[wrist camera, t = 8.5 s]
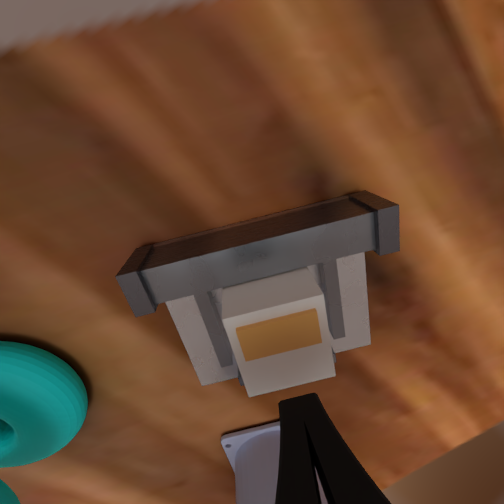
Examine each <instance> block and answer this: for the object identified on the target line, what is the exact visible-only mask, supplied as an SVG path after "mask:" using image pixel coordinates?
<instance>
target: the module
mask: <svg viewBox="0 0 504 504" xmlns="http://www.w3.org/2000/svg"><path fill="white" fill-rule="evenodd" d="M222 321H223V324H224V327H225V330H226V333H227V336H228V338H229V341H230V344H231V347H232V350H233V353H234V356H235V359H236V362H237V364H238V367H239V370H240V373H241V376H242V379H243V382H244V385H245V387H246V390H247V393H248V396H249V397H253V396H257V395H261V394H265V393H269V392H273V391H277V390H281V389H285V388H289V387H293V386H297V385H301V384H305V383H309V382H313V381H317V380H321V379H326V378H330V377H334V376H336V374H335V368H334V361H333V354H332V348H331V341H330V334H329V327H328V321H327V314H326V307H325V301H324V294H323V293H322V291H321V289H320V288H319V286H318V284H317V283H316V281H315V279H314V278H313V276H312V274H311V273H310V271H309V269H308V268H307V266H306V267H302V268H298V269H294V270H290V271H287V272H283V273H279V274H275V275H271V276H267V277H263V278H259V279H255V280H251V281H247V282H243V283H239V284H235V285H231V286H227V287H223V288H222Z"/></svg>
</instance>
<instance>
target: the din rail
mask: <svg viewBox="0 0 504 504" xmlns="http://www.w3.org/2000/svg"><path fill="white" fill-rule="evenodd" d="M370 250H374V251H375V252H376V253H377V254H378V255H380V256H381V255H385V254H389V253H393V252H397V251H400V245H399V205H398V204H396V203H394V202H391V201H389V200H387V199H384V198H382V197H380V196H377V195H375V194H373V193H370V192H368V191H366V190H364V191H360V192H356V193H353V194H349V195H345V196H341V197H337V198H333V199H330V200H326V201H322V202H318V203H314V204H310V205H306V206H302V207H298V208H294V209H290V210H286V211H282V212H278V213H274V214H270V215H267V216H263V217H259V218H255V219H251V220H247V221H243V222H239V223H235V224H231V225H227V226H223V227H219V228H215V229H211V230H207V231H204V232H200V233H196V234H192V235H188V236H184V237H180V238H176V239H172V240H168V241H164V242H160V243H156V244H152V245H148V246H144V247H140V248H136V249H135V251H134V252H133V253H132V255H131V256H130V257H129V259H128V260H127V262H126V263H125V264H124V266H123V267H122V268H121V270H120V271H119V272H118V274H117V275H116V276H115V277H116V279H117V281H118V283H119V285H120V287H121V289H122V291H123V293H124V295H125V297H126V299H127V301H128V303H129V305H130V307H131V309H132V311H133V313H134V315H135V317H138V316H142V315H146V314H150V313H154V312H155V311H156V308H157V306H158V304H159V303H163V302H165V303H166V305H167V307H168V309H169V312H170V314H171V316H172V319H173V321H174V323H175V325H176V328H177V330H178V332H179V335H180V337H181V339H182V341H183V344H184V346H185V348H186V351H187V353H188V355H189V357H190V360H191V362H192V364H193V367H194V369H195V371H196V373H197V376H198V378H199V380H200V383H201V385H202V386H205V385H209V384H213V383H217V382H221V381H225V380H229V379H233V378H237V377H238V379H239V382H240V385H241V386H242V385H244V382H243V379H242V376H241V373H240V370H239V367H238V364H237V362H236V359H235V356H234V353H233V350H232V347H231V344H230V341H229V338H228V336H227V333H226V330H225V327H224V324H223V321H222V288H223V287H227V286H231V285H235V284H239V283H243V282H247V281H251V280H255V279H259V278H263V277H267V276H271V275H275V274H279V273H283V272H287V271H290V270H294V269H298V268H302V267H306V266H307V268H308V269H309V271H310V273H311V274H312V276H313V278H314V279H315V281H316V283H317V284H318V286H319V288H320V289H321V291H322V293H323V294H324V301H325V307H326V314H327V321H328V327H329V334H330V341H331V348H332V354H333V361H334V363H335V362H336V356H335V353H338V352H342V351H346V350H350V349H354V348H358V347H362V346H366V345H370V344H371V339H370V325H369V311H368V297H367V283H366V269H365V255H364V252H366V251H370Z"/></svg>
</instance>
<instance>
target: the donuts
mask: <svg viewBox="0 0 504 504" xmlns="http://www.w3.org/2000/svg"><path fill="white" fill-rule="evenodd" d="M87 408H88V398H87V392H86V389H85V386H84V384H83V382H82V380H81V379H80V377H79V376H78V374H77V373H76V372H75V371H74V370H73V369H72V368H71V367H70V366H69V365H68V364H67V363H66V362H64V361H63V360H62V359H60V358H59V357H57V356H55V355H54V354H52V353H50V352H48V351H45V350H43V349H40V348H37V347H34V346H31V345H27V344H22V343H17V342H7V341H0V467H14V466H21V465H26V464H30V463H33V462H36V461H39V460H42V459H44V458H47V457H49V456H51V455H52V454H54V453H56V452H57V451H59V450H60V449H62V448H63V447H64V446H66V445H67V444H68V443H69V442H70V441H71V440H72V439H73V438H74V437H75V435H76V434H77V433H78V431H79V430H80V428H81V427H82V424H83V422H84V420H85V417H86V414H87ZM0 504H20V502H19V500H18V498H17V496H16V495H15V493H14V492H13V491H12V489H11V488H10V487H9V486H8V485H7V484H6V483H4V482H3V481H2V480H1V479H0Z"/></svg>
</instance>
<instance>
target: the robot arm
mask: <svg viewBox="0 0 504 504" xmlns="http://www.w3.org/2000/svg"><path fill="white" fill-rule="evenodd" d="M278 405H279V414H280V421H279V422H274V423H270V424H266V425H262V426H258V427H254V428H250V429H246V430H242V431H238V432H234V433H230V434H226V435H223V436H222V437H221V444H222V446H223V449H224V451H225V453H226V455H227V457H228V460H229V462H230V464H231V466H232V468H233V471H234V473H235V486H236V504H391V503H390V501H389V500H388V499H387V498H386V497H385V495H384V494H383V493H382V492H381V490H380V489H379V488H378V486H377V485H376V484H375V483H374V481H373V480H372V479H371V477H370V476H369V475H368V473H367V472H366V471H365V469H364V468H363V467H362V465H361V464H360V463H359V461H358V460H357V458H356V457H355V456H354V454H353V453H352V451H351V450H350V448H349V447H348V446H347V444H346V443H345V441H344V440H343V438H342V437H341V435H340V434H339V432H338V431H337V429H336V428H335V426H334V424H333V423H332V421H331V419H330V418H329V416H328V414H327V413H326V411H325V409H324V407H323V405H322V403H321V401H320V399H319V397H318V395H317V394H316V393H310V394H306V395H302V396H298V397H294V398H290V399H286V400H282V401H280V402H279V404H278Z"/></svg>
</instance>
